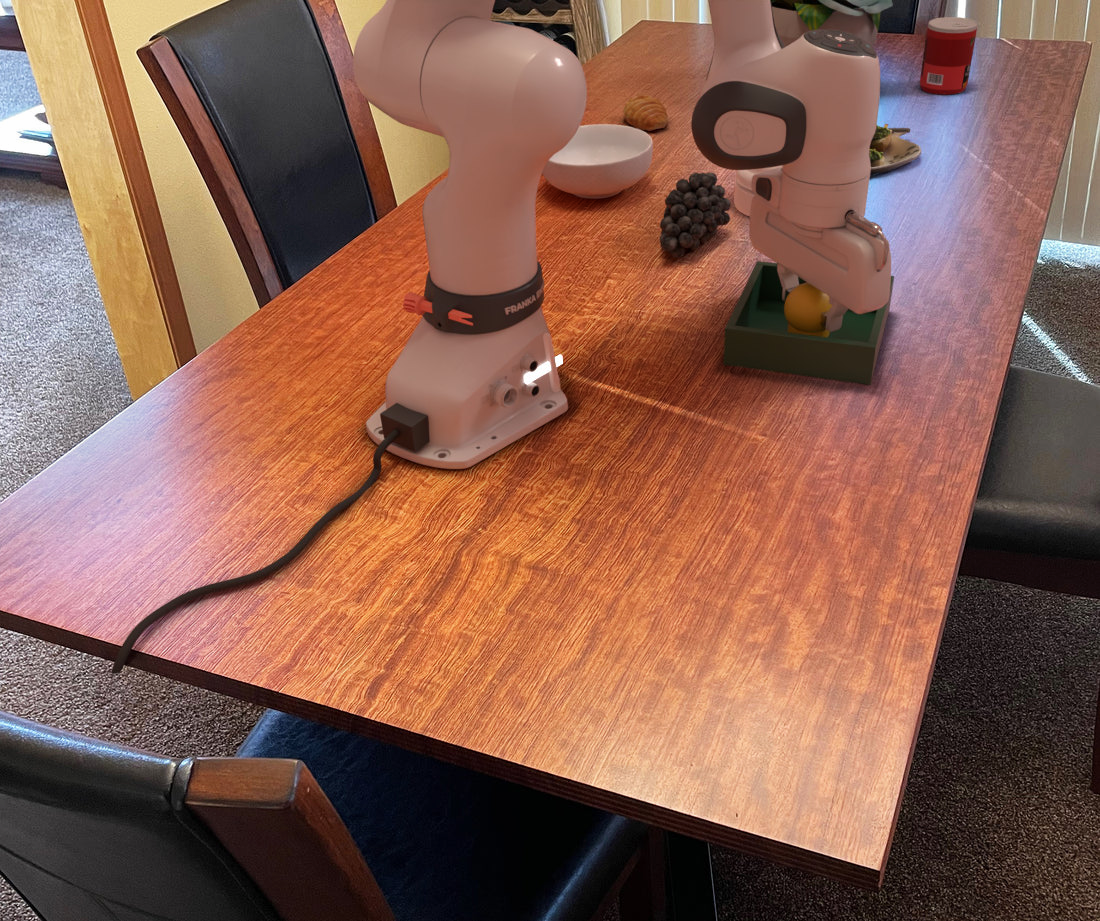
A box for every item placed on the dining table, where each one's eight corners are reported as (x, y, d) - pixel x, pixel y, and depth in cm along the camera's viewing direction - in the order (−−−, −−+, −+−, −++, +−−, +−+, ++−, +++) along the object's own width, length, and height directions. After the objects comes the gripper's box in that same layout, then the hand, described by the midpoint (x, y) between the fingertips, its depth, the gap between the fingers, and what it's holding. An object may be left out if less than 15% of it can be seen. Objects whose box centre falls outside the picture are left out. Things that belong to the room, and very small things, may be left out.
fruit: (680, 203, 137) (728, 158, 147) (624, 213, 142) (674, 169, 152) (699, 267, 141) (745, 219, 151) (644, 274, 146) (692, 227, 156)
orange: (824, 349, 121) (831, 292, 117) (774, 338, 124) (779, 281, 120) (841, 326, 125) (849, 270, 121) (792, 315, 128) (798, 260, 124)
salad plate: (874, 125, 181) (878, 96, 178) (950, 159, 168) (955, 129, 165) (775, 148, 175) (777, 119, 172) (846, 186, 161) (849, 155, 159)
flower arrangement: (880, 66, 205) (897, -78, 191) (881, 111, 186) (901, -46, 171) (744, 64, 211) (751, -77, 196) (732, 107, 191) (739, -45, 177)
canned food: (972, 94, 190) (983, 27, 184) (925, 96, 191) (935, 30, 184) (959, 80, 197) (970, 15, 190) (913, 82, 197) (922, 18, 190)
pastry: (677, 129, 184) (677, 106, 182) (639, 136, 182) (639, 113, 180) (655, 112, 191) (655, 90, 189) (619, 118, 190) (618, 96, 188)
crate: (869, 391, 117) (875, 347, 114) (722, 370, 122) (724, 328, 119) (888, 316, 130) (894, 275, 127) (754, 300, 135) (757, 260, 132)
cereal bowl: (609, 159, 175) (608, 114, 171) (675, 190, 163) (676, 144, 159) (518, 186, 168) (515, 141, 163) (581, 221, 156) (579, 173, 152)
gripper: (915, 224, 108) (895, 348, 116) (790, 160, 124) (780, 273, 132) (863, 238, 106) (847, 363, 114) (742, 171, 121) (735, 286, 130)
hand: (810, 314), depth 123 cm, fingers closed on orange, 5 cm apart
